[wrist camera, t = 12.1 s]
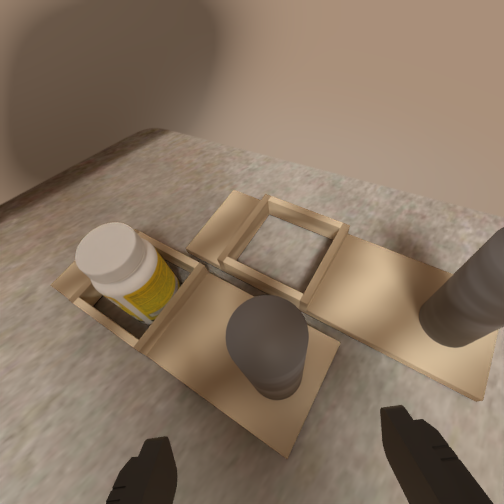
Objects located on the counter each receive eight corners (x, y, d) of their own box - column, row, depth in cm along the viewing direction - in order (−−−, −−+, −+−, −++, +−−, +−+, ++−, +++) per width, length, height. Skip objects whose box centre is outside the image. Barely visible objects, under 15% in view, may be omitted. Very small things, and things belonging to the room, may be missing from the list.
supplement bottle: (188, 273, 26) (150, 215, 19) (179, 325, 24) (132, 279, 17) (137, 275, 27) (82, 218, 20) (124, 325, 24) (56, 281, 17)
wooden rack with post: (56, 289, 27) (-49, 224, 19) (117, 226, 30) (51, 148, 22) (287, 458, 18) (283, 478, 10) (339, 345, 21) (368, 289, 13)
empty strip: (188, 252, 27) (143, 174, 19) (235, 195, 30) (213, 106, 22) (476, 401, 19) (623, 375, 10) (499, 299, 22) (625, 216, 14)
